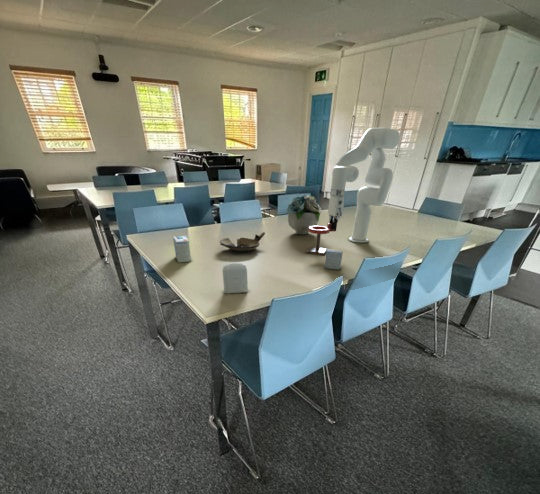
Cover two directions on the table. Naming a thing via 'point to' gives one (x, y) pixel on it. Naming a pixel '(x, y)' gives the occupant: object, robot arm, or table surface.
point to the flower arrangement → (303, 213)
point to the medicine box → (333, 259)
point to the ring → (321, 229)
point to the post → (317, 248)
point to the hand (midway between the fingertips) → (332, 228)
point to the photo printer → (235, 278)
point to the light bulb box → (182, 249)
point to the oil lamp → (242, 243)
